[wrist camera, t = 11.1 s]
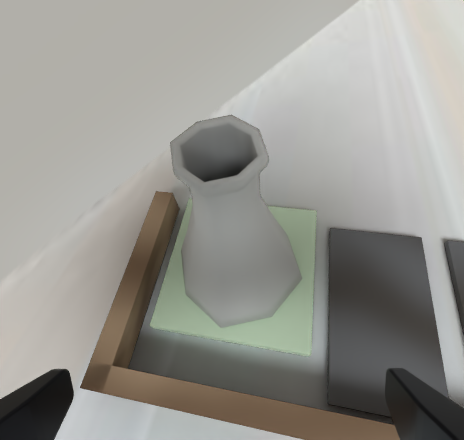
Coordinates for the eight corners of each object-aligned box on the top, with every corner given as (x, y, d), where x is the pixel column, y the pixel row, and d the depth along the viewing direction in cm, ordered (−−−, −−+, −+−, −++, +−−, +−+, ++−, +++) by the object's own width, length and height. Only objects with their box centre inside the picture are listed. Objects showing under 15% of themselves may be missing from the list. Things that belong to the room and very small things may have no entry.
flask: (164, 249, 19) (84, 129, 11) (257, 199, 20) (253, 59, 12) (214, 353, 15) (154, 300, 7) (324, 285, 17) (386, 171, 8)
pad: (309, 356, 16) (311, 355, 15) (153, 328, 17) (149, 325, 16) (314, 216, 20) (316, 210, 19) (191, 204, 22) (189, 198, 21)
